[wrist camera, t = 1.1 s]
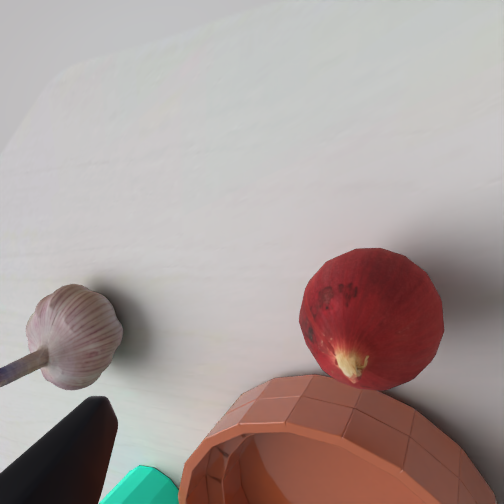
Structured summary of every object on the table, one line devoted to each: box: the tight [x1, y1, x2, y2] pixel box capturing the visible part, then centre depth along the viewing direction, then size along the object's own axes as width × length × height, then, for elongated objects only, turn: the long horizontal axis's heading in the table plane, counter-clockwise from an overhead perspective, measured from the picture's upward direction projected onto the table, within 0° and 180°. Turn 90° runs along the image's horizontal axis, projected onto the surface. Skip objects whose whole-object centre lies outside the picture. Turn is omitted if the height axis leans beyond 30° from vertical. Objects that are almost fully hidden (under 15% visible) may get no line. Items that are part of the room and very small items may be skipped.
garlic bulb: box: [0, 284, 123, 390], centre depth 29 cm, size 8×7×8 cm
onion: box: [299, 248, 444, 391], centre depth 18 cm, size 6×6×8 cm
